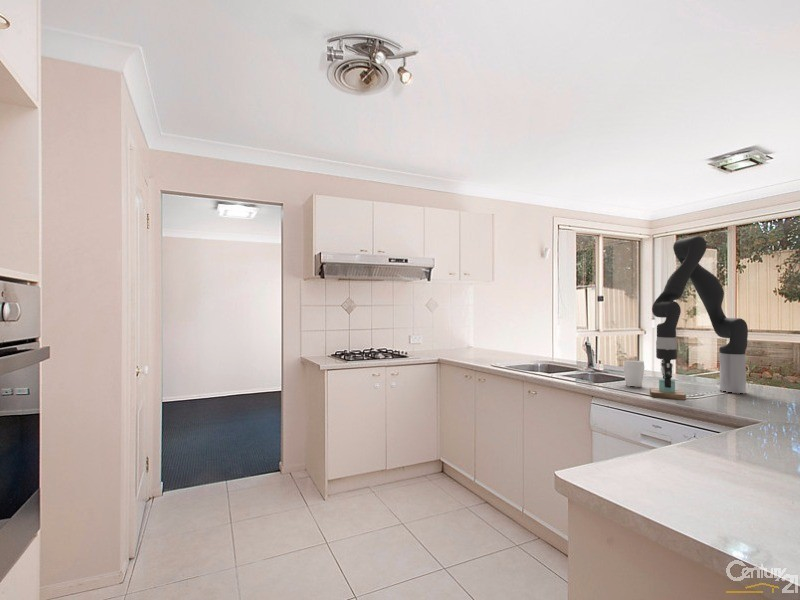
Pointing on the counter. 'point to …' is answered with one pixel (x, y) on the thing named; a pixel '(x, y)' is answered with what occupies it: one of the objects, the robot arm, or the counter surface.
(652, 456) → the counter surface
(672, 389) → the cap
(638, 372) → the cup
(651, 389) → the stud block
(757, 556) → the counter surface
